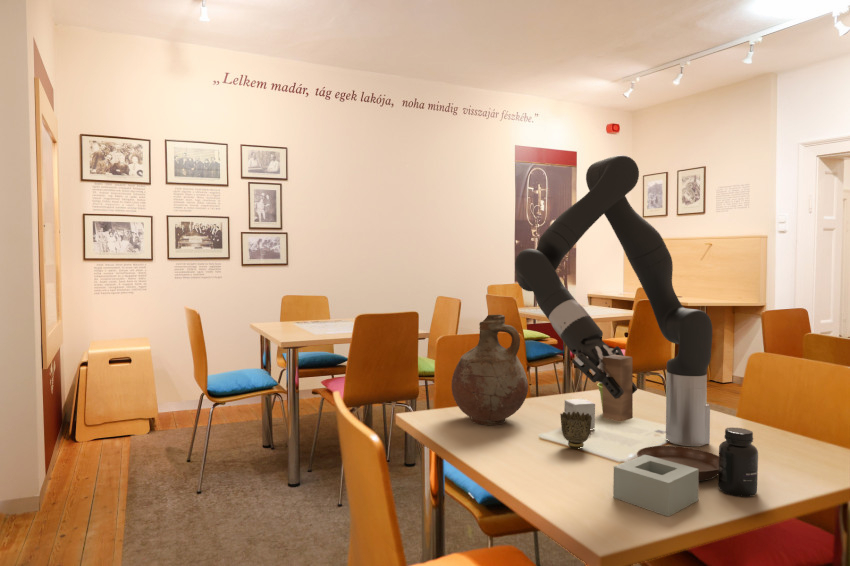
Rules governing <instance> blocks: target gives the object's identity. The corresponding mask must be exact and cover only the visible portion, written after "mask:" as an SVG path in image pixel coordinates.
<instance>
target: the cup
mask: <svg viewBox="0 0 850 566" xmlns="http://www.w3.org/2000/svg"><path fill="white" fill-rule="evenodd" d="M559 415H560V425H561V431H562V435H563V438H564V439H565V440H566V441H567V446H568V447H569V448H571V449H573V450H579V449H578V448H580V447H583V448H584V445H585V444H584V442H586V441H588V439H589V437H590V433H591V430H590V429H591V421H592V417H591V415H590V416H589V413H587V414H586V415H584V412H583V413H582V415H580V414H579V412H577V413H575V412H573V413H572V414H571V415H570V412H568V414H566V413H565V412H564V411H562V413H559Z"/></svg>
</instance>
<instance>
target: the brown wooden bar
mask: <svg viewBox="0 0 850 566" xmlns="http://www.w3.org/2000/svg"><path fill="white" fill-rule="evenodd" d="M603 361H604V362H605V364H606V368H607V370H608V371H609V372H610V374H611V377H613V378H614V380H615V381H616V382H617V383H618V385H619V386H620V387H621V388H622V390H623V391H624V393H623V395H621V396H620V397H619V398H617V399H615V398H614V397H613V396H612V395H611V394H610V392H609V391H608V390H607V388H606V387H605V386H604V384H603V411H602V418H603V419H608V420H611V421H615V422H619V423H621V422H625V421H628V420H631V419H633V417H634V416H633V413H634V412H633V410H634V409H633V401H634V400H633V395H634V393H632V385H633V383H634V381H633V356H628V355H624V356H621V355H610V356H605V357H603Z"/></svg>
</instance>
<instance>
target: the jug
mask: <svg viewBox="0 0 850 566" xmlns="http://www.w3.org/2000/svg"><path fill="white" fill-rule="evenodd" d="M505 322H506V316H505V314H504V315H503V314H488V315H487V316H486V317H485V318H484V319H483V320H482V321H480V322H479V323H478V325H479V335H478V336H479V339H478V343H477V345H475V347H473V348H470V349H469V351H467V352H466V353H464V354H462V355H461V357H460V359H459V361H458V363H457V364H456V366H455V368H454V371H453V374H452V378H451V392H452V396H453V399H454V401H455V404H456V406H457V407H458V408H459V409H460V411H461V412H462V413H463V414H465V415H466V416H468V417H469V418H471V421H472V422H473V423H475V424H477V425H483V426H497V425H498V426H499V425H502V424H505V422H506V419H508V418H510V417H511V416H513V415H514V414H515V413H516V412H518V411H519V409H521V407H522V406H523V404H524V403H525V401H526V399H527V395H528V393H529V381H528V378H527V374H526V370H525V368H524V365H523V364H522V363H521V361H520V358H519V357H518V352H519V349H520V345H521V337H520V334H519V331H518V330H517V328H515V327H514V326H512V325H509V324H506V323H505ZM499 332H501V333H502V332H503V333H506V334H509V336H510V338H511V344H510V345H509V347H507V348H506V347H504V346H502V345H501V344H500V342H499V337H498V334H499Z"/></svg>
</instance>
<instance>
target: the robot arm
mask: <svg viewBox="0 0 850 566" xmlns="http://www.w3.org/2000/svg"><path fill="white" fill-rule="evenodd" d="M585 173H586V174H585V181H586V186H587V188H588V190H589V191H588V192H587V193H586V194H585V195H584V196H583V197H582V198H580V199H579V200H578V201H577V202H575V203H574V204H572V205H571V206H570V207H568V208H567V209H566V210H565V211H563V212H562V213H561V214H560V215H559V216H557V218H556V219H555V220H554V221H553V222H552V223H551V224H550V225H549V227H547V229H546V230H545V231H544V232H543V233H542V235H541V236H540V237H539V240H538V243H537V247H536V249H535V248H525V249H524V250H523V249H522V250H521V251H520V252H519V253H518V254H517V256H516V258H515V262H514V268H515V277H516V281H517V283H518V285H519V288H521V289H522V290H524V291H526V292H533V294H534V296H535V301H536V303H537V306H538V307H539V309H540V310H541V311H542V313H543V314H544V315H545V317H546V318H547V319H548V320H549V323H550V325H551V326H552V328H553V330H554V331H555V332H556V334H557V335H558V337H560V339H561V340H562V342H563V343H564V344H565V346H566V347H567V349H568V350H569V352H571V354H573V355H575V357H574V358H573V359H572V361H571V362H572V364H573V365H574V366H576V368H577V369H579V370H580V371H581V372H582V373H583V375H585V376H586V377H587V378H588V379H589V380H590V381H591V382H592V383H594V384H595V383H597V382H598V383H601V384H604V386H605V387H606V388H607V390H608V391H609V392H610V394H611V395H612V396H613V397H614V398H615V399H617V398H619V397H620V396H621V395H623V393H624V391H623V390H622V388H621V387H620V386H619V385H618V383H617V382H616V381H615V380H614V378H613V377H611V374H610V372H609V371H608V370H607V368H606V364H605V362H604V361H603V357H605V356H610V355H621V356H625V354H624V352H623V351H622V349H621V348H620V346H617V345H616V346H614V348H612V347H610V346H609V345H608V344H607V343H605V342H604V340H603V336H604V335H603V334H604V333H603V330H602V329H601V328H600V327H599V325H598V324H597V323H596V322H595V320H594V319H593V318H592V316H591V315H590V313H588V311H587V310H586V309H585V308H584V307H583V306H582V305H581V304H580V303H579V302H578V301H577V300H576V299H575V297H574V296H573V295H572V294H571V292H570V291H569V290H568V288H567V287H566V286H565V285H564V284H563V282H562V280H561V279H560V277H559V274H558V272H557V269H558V268H559V266H560V264H561V262H562V260H563V259H564V257H565V256H566V255H568V253H569V252H570V251H571V250H572V249H573V247H574V246H575V245H576V244H577V243H578V242H579V241H580V239H581V238H582V237H583V236H584V235H585V234H586V233H587V232H588V230H589V229H590V228H591V227H592V226H593V225H594V224H595V223H597V221H598V220H599V219H600V218H601V217H602V216H603V215H604V216H605V218H606V220H607V221H608V223H609V225H610V226H611V229H612V230H613V232H614V234H615V236H616V237H617V240H618V242H619V243H620V245H621V247H622V249H623V251H624V253H625V256H626V258H627V260H628V262H629V265H630V266H631V267H632V270H633V272H634V274H635V275H636V277H637V278H638V281H639V283H640V285H641V286H642V289H643V291H644V293H645V296H646V297H647V300H648V302H649V304H650V306H651V308H652V311H653V315H654V316H655V320H656V322H657V325H658V327H659V330H660V332H661V334H662V336H663V338H664V339H666V340H667V341H668V342H671V343H673V344H675V345H678V353H677V355H676V356H675V357H673V358H671V359H668V360H667V361H666V377H665V378H666V379H665V381H666V384H665V385H666V387H665V388H666V389H665V391H666V393H665V440H666V439H668V440H669V441H670V442H669V443H670V444H673V445H676V446H681V447H702V446H705V445H708V444H709V445H710V443H711V440H710V437H711V436H710V435H711V433H710V432H711V406H710V404H707V400H708V399H707V396H708V395H707V392H708V390H707V388H708V386H707V385H708V384H707V383H708V382H707V381H708V377H707V376H708V367H709V365H710V363H711V357H712V348H713V347H712V345H713V324H712V320H711V318H710V316H709V315H708V313H707V312H706V311H704V310H701V309H696V308H695V309H694V308H686V307H684V306H683V305H682V303H681V301H680V299H679V298H678V296H677V294H676V292H675V289H674V286H673V271H674V270H673V269H674V267H673V258H672V256H671V253H670V251H669V249H668V247H667V245H666V243H665V241H664V239H663V237H662V235H661V234H660V232H659V231H658V230H657V229H656V228H655V227H654V226H653V225H651V224H650V223H649V222H648V221H647V220H646V219H645V218H643V217H642V216H641V215H640V214H639V213H637V211H636V210H635V209H634V208H633V207H632V206H631V203H630V202H629V201H628V199H627V196H626V195H627V194H629V193H630V192H632V190H634V188H635V187H636V185H637V183H638V181H639V177H640V171H639V167H638V164H637V163H636V161H635V160H634V159H633V158H632V157H631V156H627V155H624V154H623V155H622V154H619V155H614V156H610V157H608V158H604V159H602V160H598V161H596V162H594V163H591V165H590V166H589V167H588V168H587V169H586V172H585ZM637 390H638V386H636V383H634V382H633V385H632V393H633V394H634V393H636V391H637Z"/></svg>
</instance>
